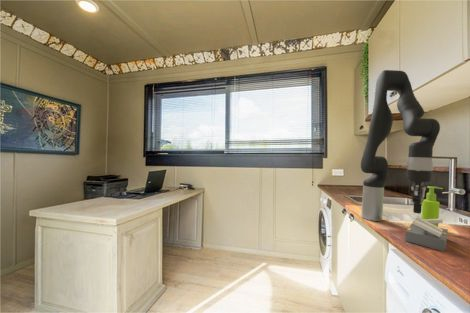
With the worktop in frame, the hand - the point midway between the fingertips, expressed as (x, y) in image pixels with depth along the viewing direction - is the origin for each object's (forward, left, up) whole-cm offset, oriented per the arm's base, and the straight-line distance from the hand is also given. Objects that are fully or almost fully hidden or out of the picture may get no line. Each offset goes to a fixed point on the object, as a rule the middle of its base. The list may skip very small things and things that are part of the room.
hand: (417, 212), depth 81 cm
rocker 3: (-8, +10, -6) cm, 14 cm away
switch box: (-3, +6, -11) cm, 13 cm away
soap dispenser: (-20, +18, -12) cm, 29 cm away
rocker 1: (-3, +6, -6) cm, 9 cm away
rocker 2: (+2, +2, -6) cm, 6 cm away
